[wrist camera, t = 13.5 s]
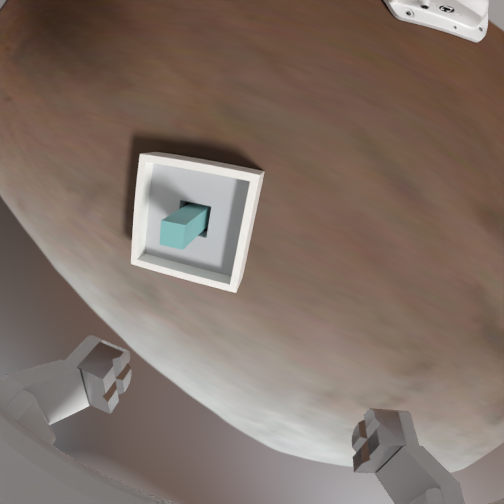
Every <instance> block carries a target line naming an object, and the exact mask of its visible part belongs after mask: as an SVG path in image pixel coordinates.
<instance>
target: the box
mask: <svg viewBox="0 0 504 504" xmlns="http://www.w3.org/2000/svg"><path fill="white" fill-rule="evenodd" d="M264 172H265V171H261V170H256V169H251V168H247V167H242V166H237V165H232V164H226V163H221V162H216V161H210V160H205V159H199V158H193V157H187V156H181V155H175V154H168V153H162V152H150V153H142V154H140V157H139V165H138V173H137V183H136V193H135V204H134V217H133V233H132V255H131V264H133V265H136V266H140V267H143V268H147V269H150V270H153V271H157V272H160V273H164V274H168V275H171V276H175V277H178V278H182V279H185V280H189V281H193V282H196V283H200V284H204V285H208V286H211V287H215V288H219V289H223V290H227V291H231V292H234V293H236V292H237V289H238V287H239V284H240V282H241V280H242V277H243V273H244V268H245V263H246V258H247V253H248V249H249V244H250V239H251V234H252V229H253V225H254V220H255V215H256V210H257V205H258V201H259V196H260V191H261V186H262V181H263V177H264ZM186 201H188V202H193V203H197V204H202V205H206V206H211V212H210V218H209V224H208V231H207V232H206V231H202V232H201V233H200V234H199V235H198V236H197V237H196V238H195V239H194V240H193V241H192V242H191V243H190V244H188V245H187V246H186V247H185V248H184V249H183V250H181V249H177V248H172V247H168V246H163V245H159V244H160V228H161V220H162V219H164V218H166V217H167V216H169V215H171V214H172V213H174V212H176V211H177V210H179V209H181V208H182V207H184V206H185V205H186Z"/></svg>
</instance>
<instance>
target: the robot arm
mask: <svg viewBox="0 0 504 504" xmlns="http://www.w3.org/2000/svg"><path fill="white" fill-rule="evenodd" d="M383 1H384V2H385V3H386V5H387V6H388V8H389V10H390V11H391V13H392V14H393V16H394V17H396V18H397V19H399V20H402V21H407V22H411V23H415V24H419V25H423V26H427V27H430V28H434V29H437V30H441V31H444V32H447V33H450V34H453V35H456V36H459V37H462V38H465V39H468V40H470V41H473V42H479V41H480V40H481V39H482V38H483V37H484V36H485V34H486V31H487V27H488V11H487V10H488V4H489V3H488V2H489V0H383ZM406 12H407V13H408V14H409V15H410V16H409V15H407V14H406ZM479 29H480V30H481V31H480V30H479ZM129 360H130V352H129V351H127V350H125V349H123V348H120V347H118V346H116V345H113V344H111V343H109V342H107V341H104V340H102V339H99V338H97V337H95V336H93V335H91V336H88V337H87V338H86V339H85V340H84V341H83V342H82V343H81V344H80V345H79V346H78V347H77V348H76V349H75V350H74V351H73V352H72V353H71V354H70V356H69V357H68V358H67V359H66V360H65V361H63V360H58V361H54V362H51V363H47V364H44V365H40V366H36V367H33V368H29V369H25V370H22V371H18V372H14V373H10V374H7V375H6V376H5V377H4V378H3V379H2V380H1V381H0V504H177V503H174V502H171V501H168V500H165V499H162V498H159V497H156V496H154V495H151V494H148V493H145V492H143V491H140V490H138V489H136V488H133V487H131V486H128V485H126V484H124V483H121V482H119V481H117V480H115V479H113V478H110V477H108V476H106V475H104V474H102V473H100V472H98V471H96V470H94V469H92V468H90V467H88V466H86V465H84V464H83V463H81V462H79V461H77V460H75V459H73V458H72V457H70V456H68V455H67V454H65V453H63V452H62V451H60V450H58V449H56V448H55V447H53V446H52V444H53V443H54V441H55V436H54V434H53V432H52V430H51V428H50V426H49V425H50V424H53V423H55V422H57V421H59V420H61V419H63V418H65V417H67V416H70V415H71V414H74V413H75V412H78V411H79V410H82V409H84V408H86V407H88V406H89V405H92V406H94V407H96V408H98V409H100V410H103V411H105V412H107V413H110V414H111V412H112V411H113V409H114V408H115V406H116V405H117V403H118V401H119V400H118V395H119V394H121V393H124V392H125V391H126V389H127V387H128V385H129V382H130V380H131V367H130V366H129V365H128V362H129ZM352 447H353V449H354V450H355V451H356V454H355V455H354V456H353V466H354V472H358V473H376V474H375V475H376V476H377V478H378V479H379V481H380V482H381V484H382V485H383V487H384V488H385V490H386V491H387V493H388V494H389V496H390V497H391V499H392V500H393V502H394V503H395V504H465V503H464V498H463V494H462V490H461V486H460V483H459V482H458V481H457V480H456V479H455V478H454V477H453V476H452V475H451V474H450V473H449V472H448V471H447V470H446V469H445V468H444V467H443V466H442V465H441V464H440V463H439V462H438V461H437V460H436V459H435V458H434V457H433V456H432V455H431V454H430V453H429V452H428V451H427V450H426V449H425V448H424V447H423V446H419V443H418V439H417V436H416V432H415V428H414V425H413V421H412V418H411V414H410V413H409V411H399V410H385V409H372V408H370V409H369V410H367V411H366V413H365V414H364V420H363V421H361V422H359V423H358V424H357V426H356V427H355V429H354V432H353V435H352ZM490 504H504V499H501V500H498V501H496V502H493V503H490Z"/></svg>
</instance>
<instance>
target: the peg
mask: <svg viewBox="0 0 504 504" xmlns="http://www.w3.org/2000/svg"><path fill="white" fill-rule="evenodd" d="M209 211H210V206H205V205H199V204H194V203H189V204H187V205H186V206H184V207H182V208H181V209H179V210H177V211H176V212H174V213H172V214H171V215H169V216H167V217H166V218H164V219H162V220H161V228H160V244H159V245H163V246H168V247H172V248H177V249H181V250H183V249H184V248H185V247H186V246H187V245H188V244H190V243H191V242H192V241H193V240H194V239H195V238H196V237H197V236H198V235H199V234H200V233H201V232H202V231H203V230H204V229H205V228H206V227H207V226H208V218H209Z"/></svg>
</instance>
